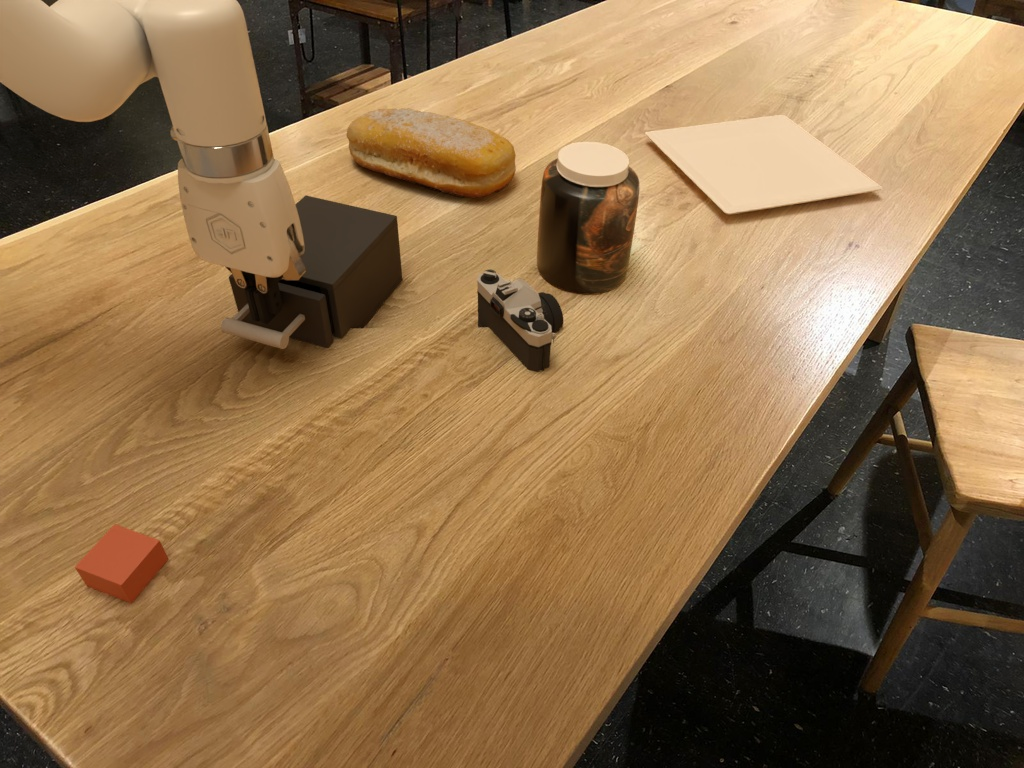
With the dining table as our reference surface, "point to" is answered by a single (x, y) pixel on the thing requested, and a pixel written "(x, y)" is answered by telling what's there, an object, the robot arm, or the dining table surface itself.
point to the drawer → (285, 317)
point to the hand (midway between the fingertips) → (268, 314)
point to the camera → (519, 317)
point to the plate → (760, 163)
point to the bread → (433, 151)
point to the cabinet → (350, 258)
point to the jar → (587, 218)
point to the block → (122, 563)
